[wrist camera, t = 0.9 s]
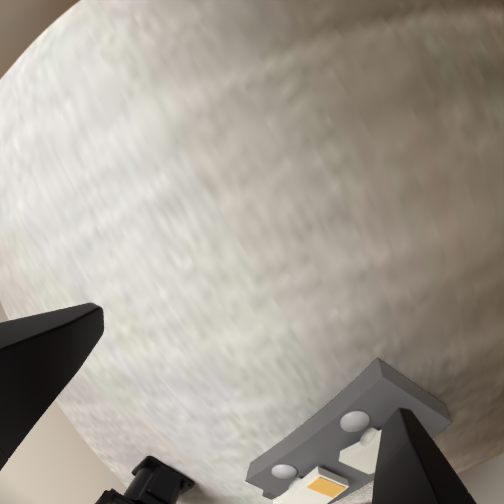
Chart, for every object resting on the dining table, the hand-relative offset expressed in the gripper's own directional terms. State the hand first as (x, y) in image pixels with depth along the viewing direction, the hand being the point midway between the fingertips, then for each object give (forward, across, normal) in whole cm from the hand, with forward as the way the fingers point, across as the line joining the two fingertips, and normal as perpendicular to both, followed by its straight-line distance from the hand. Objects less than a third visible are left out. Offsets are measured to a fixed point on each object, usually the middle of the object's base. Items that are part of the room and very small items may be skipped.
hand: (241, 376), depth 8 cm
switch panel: (+12, -9, +18) cm, 23 cm away
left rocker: (+8, -8, +20) cm, 23 cm away
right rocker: (+9, -11, +12) cm, 19 cm away
